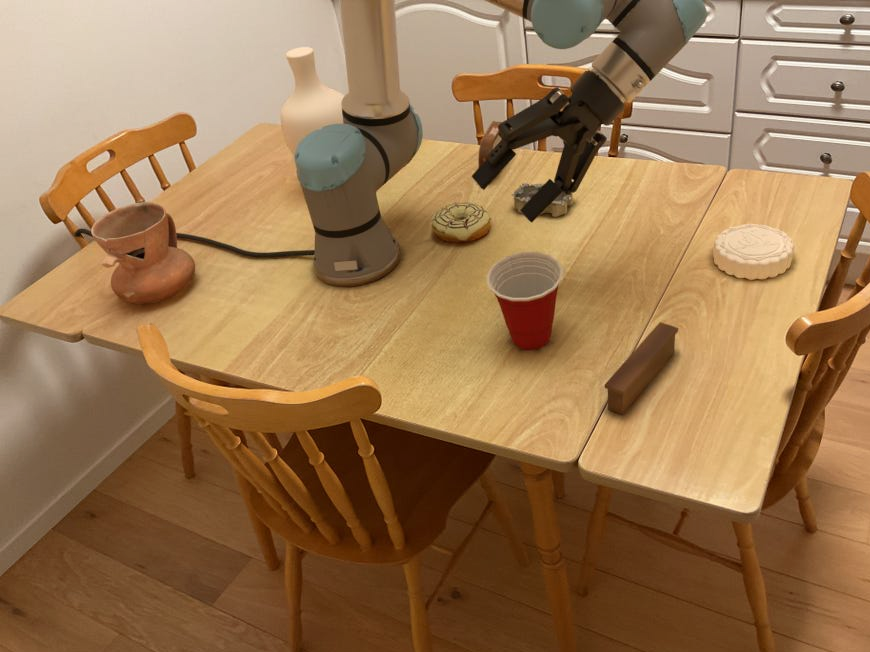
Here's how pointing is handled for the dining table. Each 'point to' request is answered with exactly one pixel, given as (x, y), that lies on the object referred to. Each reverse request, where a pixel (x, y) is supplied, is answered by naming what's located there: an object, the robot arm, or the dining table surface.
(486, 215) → the decorated donut
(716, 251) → the mooncake
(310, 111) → the vase
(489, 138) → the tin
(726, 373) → the dining table surface
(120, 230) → the ceramic jug
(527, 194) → the egg carton
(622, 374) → the walnut rail
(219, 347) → the dining table surface
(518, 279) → the plastic cup
